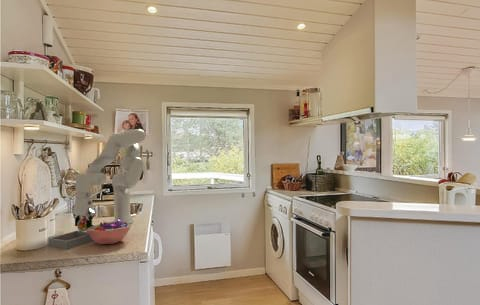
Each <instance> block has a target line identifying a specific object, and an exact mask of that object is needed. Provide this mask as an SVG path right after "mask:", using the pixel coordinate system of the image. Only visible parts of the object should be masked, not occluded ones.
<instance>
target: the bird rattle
mask: <svg viewBox="0 0 480 305" xmlns="http://www.w3.org/2000/svg"><path fill="white" fill-rule="evenodd" d="M88 217H89V216H88ZM86 220H87V219H86V216H82V218H81V220H79V221H78V223H77V226H76V227H77V231H82V232H88V228H90V227H88V228H86ZM92 226H95V225H94V224H92Z"/></svg>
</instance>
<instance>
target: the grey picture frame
mask: <svg viewBox="0 0 480 305" xmlns="http://www.w3.org/2000/svg"><path fill="white" fill-rule="evenodd" d="M93 241H94V240H93V239H92V238H91V237H90V235H89V233H88V232H87V231H79V230H74V231H71V232H67V233H63V234H59V235H57V236H53V237H49V238H48V242H47V243H48V247H53V248H59V249H63V250H69V249H72V248H74V247H77V246H81V245H83V244H86V243H89V242H93Z"/></svg>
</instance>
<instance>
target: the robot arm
mask: <svg viewBox="0 0 480 305" xmlns="http://www.w3.org/2000/svg"><path fill="white" fill-rule="evenodd" d="M145 138H146V133H145V131H144V130H142V129H141V128H137V129H136V128H135V129H133V128H132V129H126V130H124V131H123V132H122V133H114V134H112V135H111V136H109V137H108V139H107V142H106V144H104V147H103V149H102V150H101V152H100V154H99V155H98V156H96V157H95V159H94V160H93V161H92V162H91V163H90V164H89V166H88V167H87V169H86V171H85V172H81V173H77V174H75V200H74V206H73V207H74V209H73V210H72V211H71V212H72V215H73V219H74V226H75V227H77V223H78V221H79V220H81V219H82V218H81V217H83V216H86V219H87V220H86V228H88V227H92V225H93V218H94V217H95V215H96V212H95V210H94V204H93V202H94V201H93V199H92V195H91V194H92V186H101V185H103V184H105V183H106V181H107V175H106V174H104V172H101V171H102V169H103V168H104V167H106V166H108V165H109V164H111V163H113V162H114V161H115V159H116V158H117V156H118V154H119V152H120V150H121V148H125V152H124V155H123V157H122V159H121V162H120V169H121V170H122V171H124V172H117V173H115V174H114V175H113V177H112V179H111V185H112V188H113V189H112V190H113V216H114V217H113V218H114V219H113V220H112V221H111V222H117V219H120V220H121V221H122V222H126V223H130V224H132V223H134V220H133V218H136V216H137V215H136V213H133V214H132V213H131V192H130V189H131V190H132V189H134V188H135V187H137V185H138V184H139V182H140V179H141V176H142V174H143V170H144V168H145V163H144V160H143V159H142V158H141V157H139V155H140V151H141V150H140V149H141V148H140V143H143V142H144V140H145ZM88 216H89V217H88Z"/></svg>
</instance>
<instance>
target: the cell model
mask: <svg viewBox="0 0 480 305" xmlns="http://www.w3.org/2000/svg"><path fill="white" fill-rule="evenodd" d="M131 228H132V223H126V222H122V221H121V220H120V219H117V222H112V221H110V222H107V221H104V222H100V223H99V224H96V225H94V226H92V227H90V228H88V233H89V235H90V237H91V238H92V239H93V241H94V242H96V243H97V244H99V245H113V244H117V243H119V242H122V241H123V240H125V238H126V237H127V235H128V233H129V231H130V229H131Z"/></svg>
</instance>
